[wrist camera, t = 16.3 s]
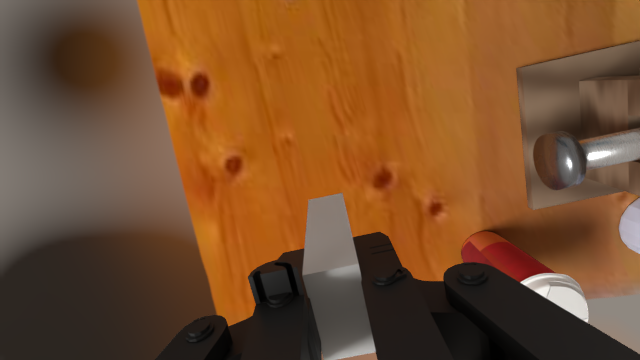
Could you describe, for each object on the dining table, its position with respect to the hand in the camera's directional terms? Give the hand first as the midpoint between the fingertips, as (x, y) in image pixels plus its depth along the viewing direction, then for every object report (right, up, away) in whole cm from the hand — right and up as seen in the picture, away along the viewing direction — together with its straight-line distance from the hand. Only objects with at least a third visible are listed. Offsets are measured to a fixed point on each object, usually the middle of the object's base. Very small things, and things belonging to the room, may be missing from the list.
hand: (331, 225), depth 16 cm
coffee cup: (+22, -8, +34) cm, 41 cm away
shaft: (+31, +6, +22) cm, 38 cm away
